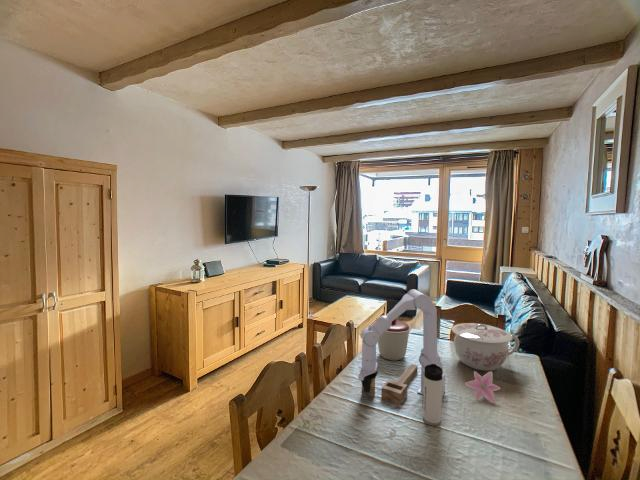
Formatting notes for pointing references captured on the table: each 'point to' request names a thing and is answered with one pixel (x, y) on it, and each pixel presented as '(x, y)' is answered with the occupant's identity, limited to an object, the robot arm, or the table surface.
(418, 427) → the table surface
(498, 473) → the table surface
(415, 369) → the post
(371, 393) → the tan square peg
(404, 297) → the robot arm
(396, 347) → the canister
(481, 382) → the lily
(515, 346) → the chamber pot
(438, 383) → the travel mug
